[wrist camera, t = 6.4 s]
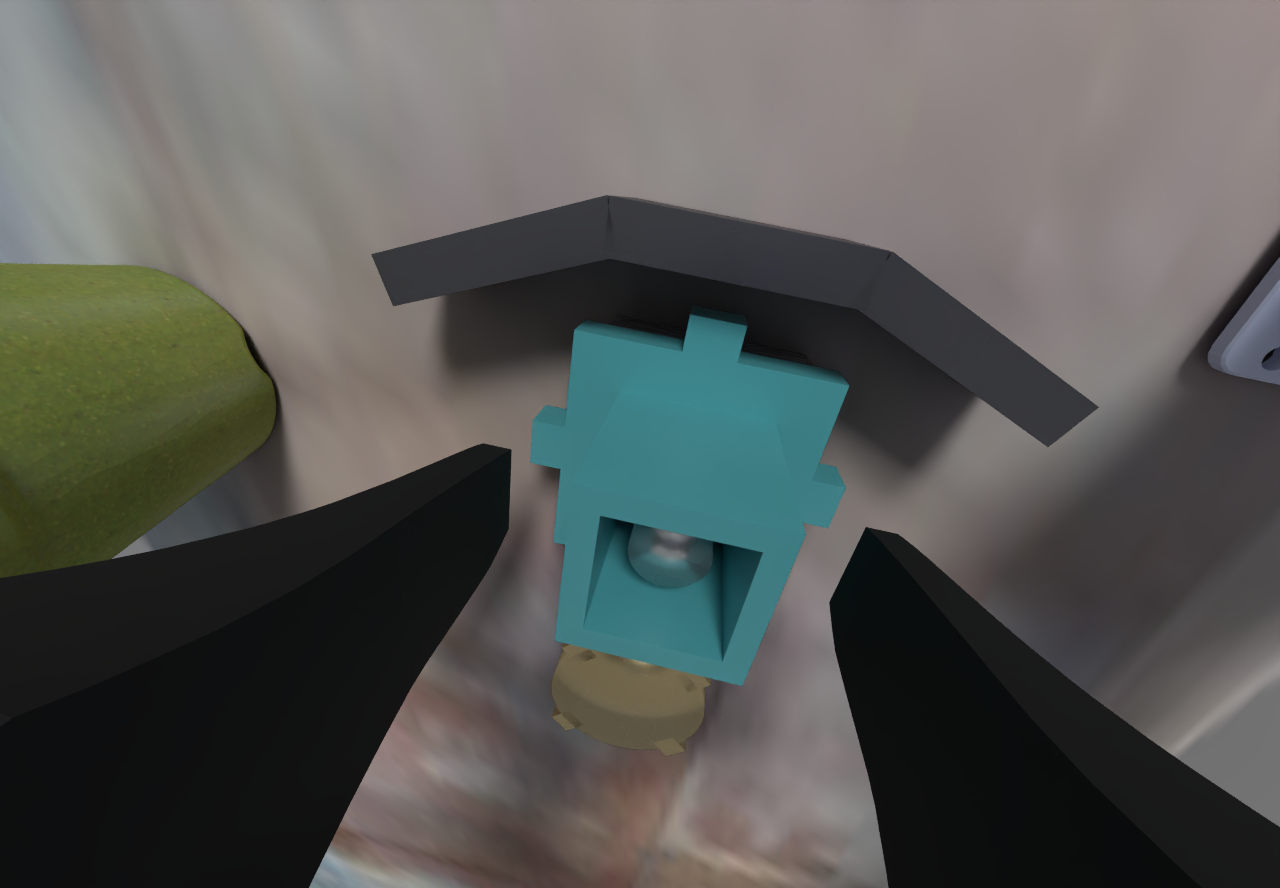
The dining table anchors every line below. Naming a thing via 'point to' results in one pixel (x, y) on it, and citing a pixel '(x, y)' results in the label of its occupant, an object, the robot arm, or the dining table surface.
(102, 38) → the dining table surface
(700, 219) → the carrier
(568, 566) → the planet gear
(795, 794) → the dining table surface
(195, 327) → the plant pot
